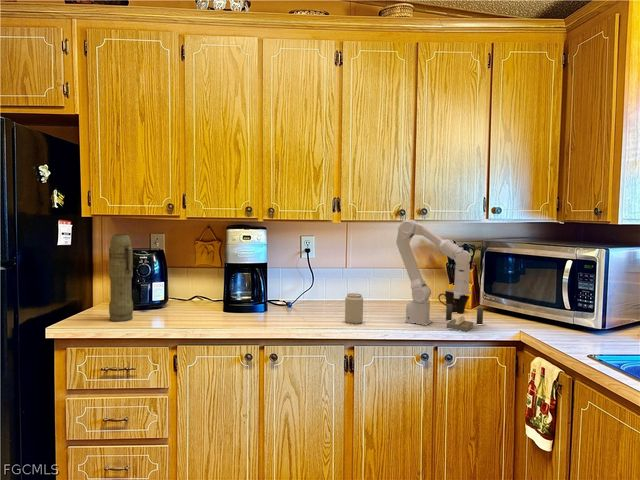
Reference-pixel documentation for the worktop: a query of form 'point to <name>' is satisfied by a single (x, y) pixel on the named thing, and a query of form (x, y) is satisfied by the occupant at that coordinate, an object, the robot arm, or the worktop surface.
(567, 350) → the worktop surface
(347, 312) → the can
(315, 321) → the worktop surface
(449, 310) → the post
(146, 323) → the worktop surface
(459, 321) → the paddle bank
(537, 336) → the worktop surface
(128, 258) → the thermos
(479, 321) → the post
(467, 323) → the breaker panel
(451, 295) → the coffee mug
